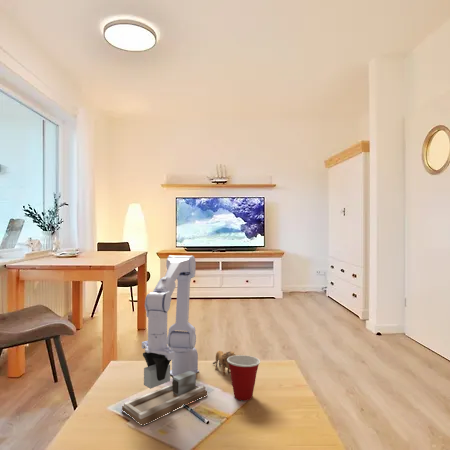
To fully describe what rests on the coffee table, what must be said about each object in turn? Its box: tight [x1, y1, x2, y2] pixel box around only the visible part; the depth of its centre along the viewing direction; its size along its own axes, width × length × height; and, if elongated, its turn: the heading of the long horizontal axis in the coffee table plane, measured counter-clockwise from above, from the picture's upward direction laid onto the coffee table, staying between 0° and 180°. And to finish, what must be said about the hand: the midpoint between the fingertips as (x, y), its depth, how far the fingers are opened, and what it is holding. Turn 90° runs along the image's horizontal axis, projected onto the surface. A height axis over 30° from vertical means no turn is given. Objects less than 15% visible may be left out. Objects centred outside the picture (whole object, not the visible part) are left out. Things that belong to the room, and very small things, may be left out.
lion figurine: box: [212, 350, 237, 377], centre depth 128 cm, size 15×5×9 cm, turn 35°
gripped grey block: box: [143, 363, 171, 390], centre depth 102 cm, size 4×7×5 cm, turn 136°
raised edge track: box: [121, 371, 208, 425], centre depth 104 cm, size 24×11×6 cm, turn 136°
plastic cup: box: [227, 354, 261, 402], centre depth 109 cm, size 11×11×12 cm
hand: (157, 377), depth 102 cm, fingers closed on gripped grey block, 3 cm apart
